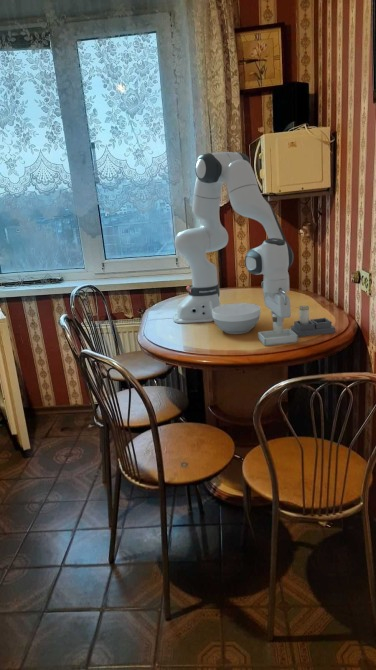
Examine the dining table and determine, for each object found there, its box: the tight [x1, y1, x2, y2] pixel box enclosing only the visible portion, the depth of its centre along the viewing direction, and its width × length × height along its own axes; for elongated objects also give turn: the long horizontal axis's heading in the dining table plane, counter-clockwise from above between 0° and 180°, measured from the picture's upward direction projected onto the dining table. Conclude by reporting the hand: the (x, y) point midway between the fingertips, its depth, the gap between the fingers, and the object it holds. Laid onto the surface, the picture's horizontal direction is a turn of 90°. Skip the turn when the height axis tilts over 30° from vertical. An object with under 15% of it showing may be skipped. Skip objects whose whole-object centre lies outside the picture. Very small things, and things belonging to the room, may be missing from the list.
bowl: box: [212, 302, 261, 335], centre depth 184 cm, size 19×19×9 cm
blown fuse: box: [271, 311, 284, 334], centre depth 167 cm, size 4×4×8 cm
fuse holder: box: [290, 317, 336, 338], centre depth 175 cm, size 14×8×4 cm, turn 97°
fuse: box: [298, 305, 310, 325], centre depth 173 cm, size 4×4×8 cm
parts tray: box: [257, 328, 299, 347], centre depth 169 cm, size 12×9×2 cm
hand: (277, 323), depth 167 cm, fingers closed on blown fuse, 3 cm apart
